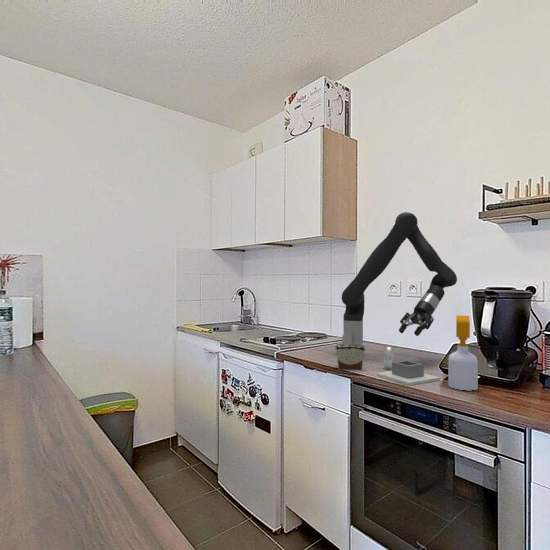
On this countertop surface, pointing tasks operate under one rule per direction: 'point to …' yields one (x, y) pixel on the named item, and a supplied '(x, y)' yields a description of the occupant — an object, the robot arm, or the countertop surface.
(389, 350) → the steel tube
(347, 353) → the food container
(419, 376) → the plate
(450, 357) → the soap bottle
